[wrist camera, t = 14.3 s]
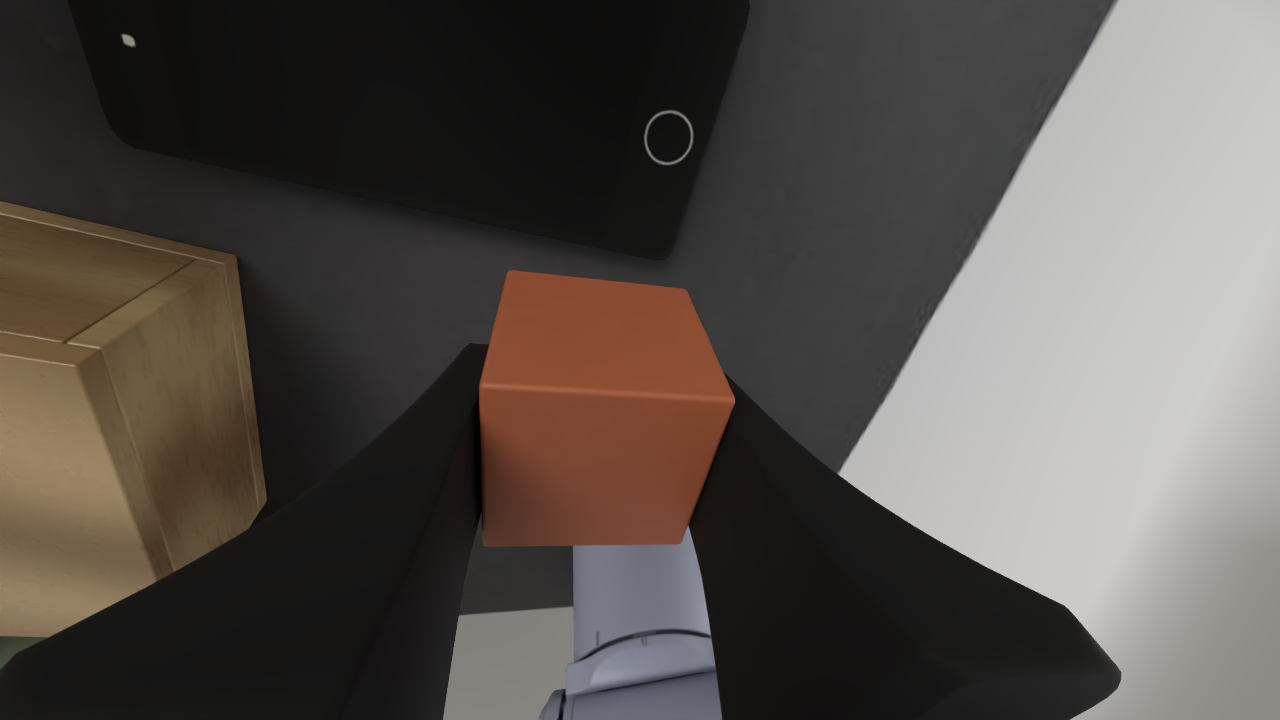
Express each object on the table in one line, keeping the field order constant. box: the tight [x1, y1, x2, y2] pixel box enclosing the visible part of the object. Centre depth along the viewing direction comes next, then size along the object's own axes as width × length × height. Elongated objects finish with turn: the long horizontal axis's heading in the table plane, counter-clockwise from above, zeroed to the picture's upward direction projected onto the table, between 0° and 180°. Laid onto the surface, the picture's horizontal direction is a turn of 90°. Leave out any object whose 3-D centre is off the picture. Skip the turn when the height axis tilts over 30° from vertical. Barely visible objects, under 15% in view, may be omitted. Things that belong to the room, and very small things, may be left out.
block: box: [479, 270, 735, 546], centre depth 10 cm, size 4×4×4 cm
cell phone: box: [67, 0, 750, 260], centre depth 14 cm, size 9×18×1 cm, turn 74°
